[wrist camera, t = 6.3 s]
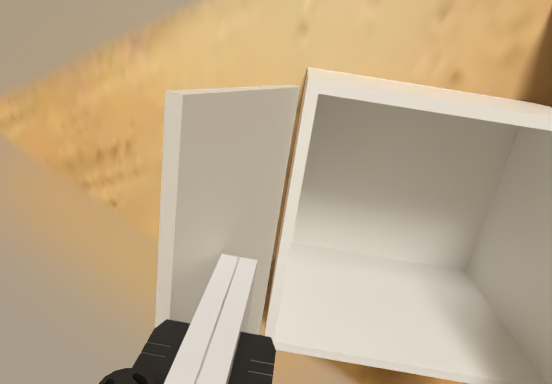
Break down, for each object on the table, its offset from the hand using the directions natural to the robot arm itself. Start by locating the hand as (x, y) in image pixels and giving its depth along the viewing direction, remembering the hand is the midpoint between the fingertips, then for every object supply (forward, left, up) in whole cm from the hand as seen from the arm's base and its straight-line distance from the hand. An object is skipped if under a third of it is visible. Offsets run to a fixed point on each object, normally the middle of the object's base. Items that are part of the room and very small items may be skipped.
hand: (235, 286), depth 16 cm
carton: (0, -11, -20) cm, 22 cm away
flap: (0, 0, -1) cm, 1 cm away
